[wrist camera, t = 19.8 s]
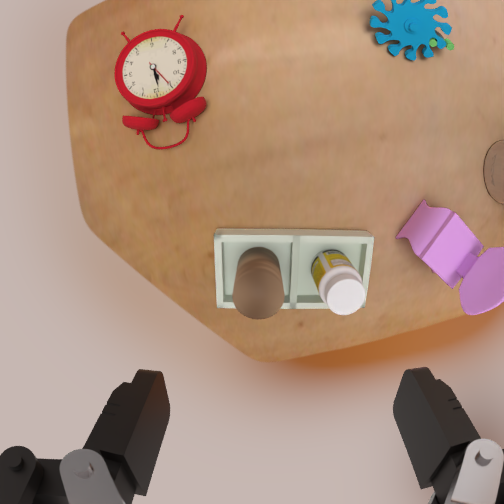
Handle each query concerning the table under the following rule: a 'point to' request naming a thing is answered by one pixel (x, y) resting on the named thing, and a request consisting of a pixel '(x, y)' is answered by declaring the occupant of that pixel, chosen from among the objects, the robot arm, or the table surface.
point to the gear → (412, 27)
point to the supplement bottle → (337, 282)
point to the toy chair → (457, 257)
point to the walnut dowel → (258, 284)
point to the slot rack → (289, 259)
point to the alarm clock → (161, 78)
